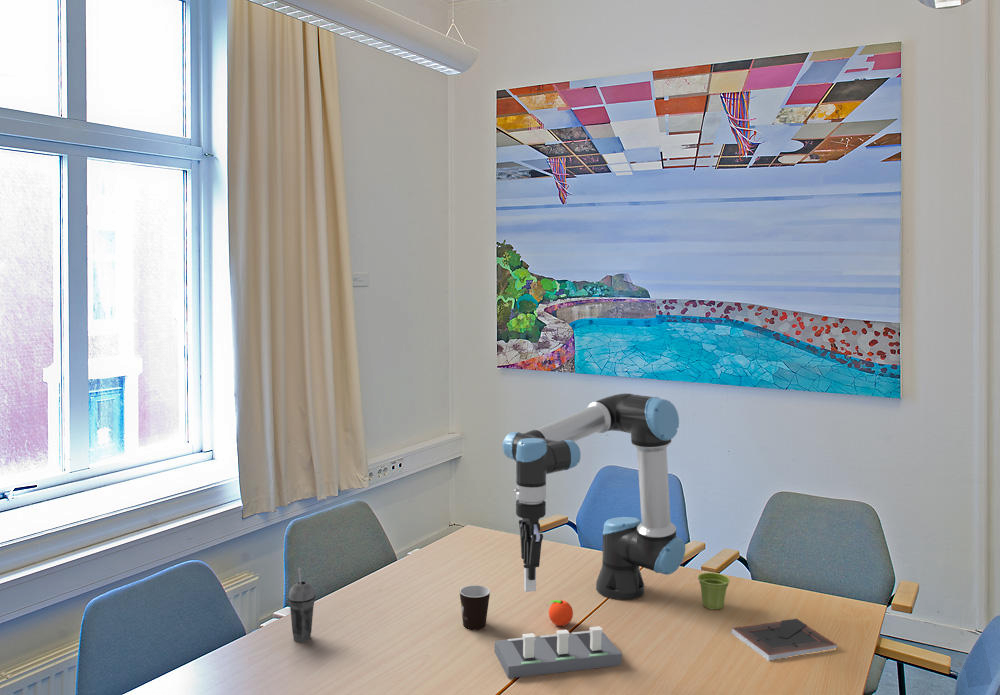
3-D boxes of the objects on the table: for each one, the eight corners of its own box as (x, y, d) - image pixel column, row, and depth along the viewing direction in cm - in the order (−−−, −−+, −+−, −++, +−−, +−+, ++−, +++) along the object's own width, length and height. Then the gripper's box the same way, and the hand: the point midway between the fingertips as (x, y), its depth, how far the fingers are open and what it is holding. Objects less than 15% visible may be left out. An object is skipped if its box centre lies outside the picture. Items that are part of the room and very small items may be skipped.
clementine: (541, 627, 220) (542, 602, 219) (548, 617, 226) (549, 593, 226) (569, 631, 217) (569, 607, 216) (575, 621, 223) (576, 597, 223)
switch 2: (599, 646, 201) (599, 626, 200) (602, 650, 199) (602, 629, 198) (589, 647, 200) (589, 627, 200) (591, 651, 198) (592, 630, 198)
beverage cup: (321, 634, 213) (320, 563, 211) (306, 646, 206) (305, 573, 204) (298, 630, 215) (297, 560, 213) (282, 641, 208) (282, 569, 206)
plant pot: (694, 609, 233) (695, 581, 233) (698, 597, 242) (700, 570, 241) (727, 614, 230) (728, 586, 229) (730, 602, 239) (731, 575, 238)
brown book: (796, 626, 224) (731, 635, 218) (796, 618, 224) (731, 627, 218) (836, 653, 209) (768, 663, 202) (837, 644, 208) (768, 654, 202)
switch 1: (532, 654, 196) (533, 633, 196) (535, 657, 194) (535, 636, 194) (522, 655, 196) (522, 634, 195) (524, 658, 194) (524, 637, 193)
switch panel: (600, 640, 212) (601, 629, 212) (621, 665, 198) (621, 653, 198) (494, 651, 204) (494, 640, 204) (508, 678, 191) (508, 665, 191)
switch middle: (566, 650, 199) (566, 629, 198) (568, 653, 197) (569, 632, 196) (555, 651, 198) (556, 630, 197) (558, 655, 196) (558, 634, 196)
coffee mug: (485, 633, 215) (486, 598, 214) (455, 630, 217) (456, 595, 216) (494, 616, 226) (495, 582, 225) (465, 613, 228) (466, 580, 227)
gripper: (509, 494, 201) (508, 582, 204) (524, 508, 189) (523, 602, 191) (537, 492, 203) (536, 579, 206) (553, 506, 191) (552, 599, 193)
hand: (529, 590), depth 198 cm, fingers closed
